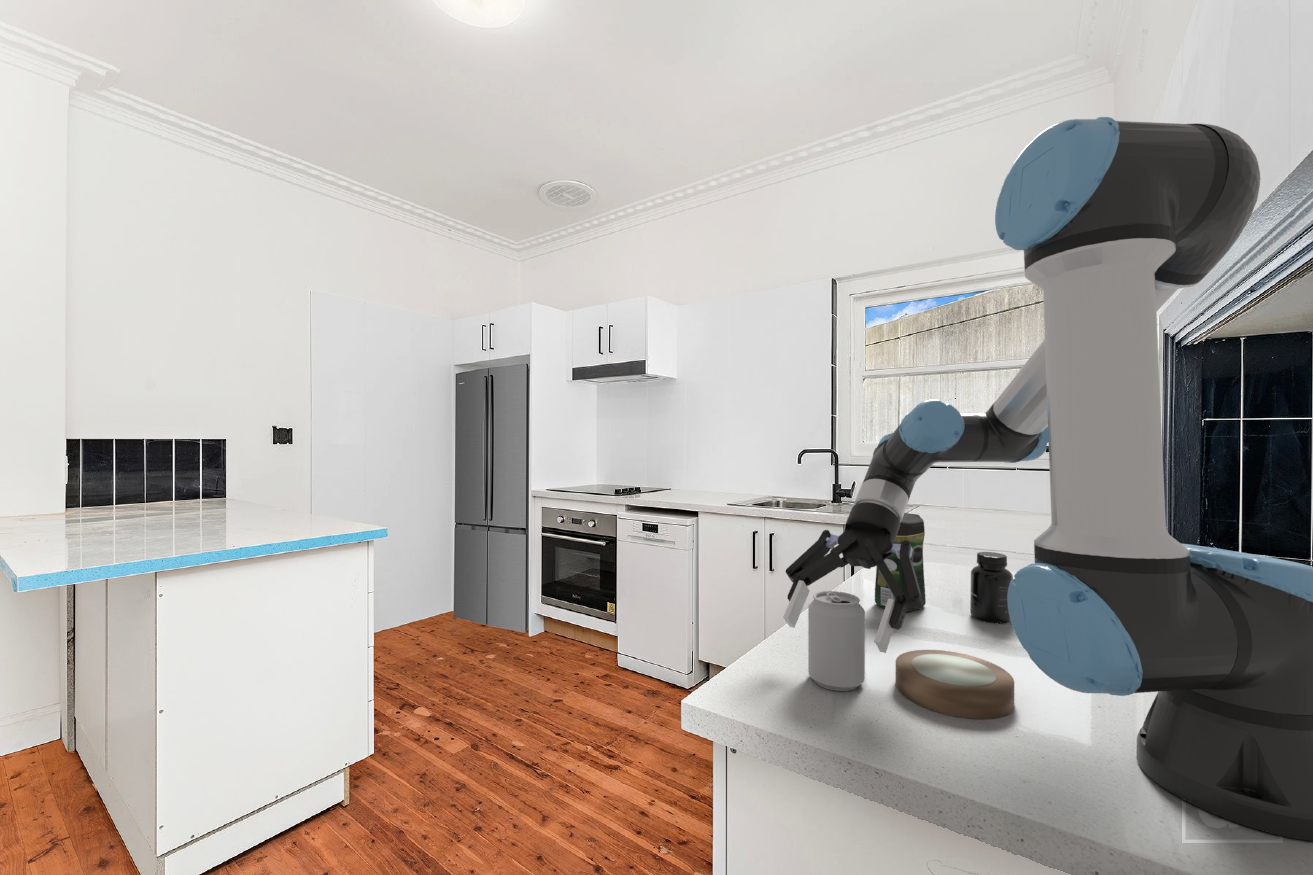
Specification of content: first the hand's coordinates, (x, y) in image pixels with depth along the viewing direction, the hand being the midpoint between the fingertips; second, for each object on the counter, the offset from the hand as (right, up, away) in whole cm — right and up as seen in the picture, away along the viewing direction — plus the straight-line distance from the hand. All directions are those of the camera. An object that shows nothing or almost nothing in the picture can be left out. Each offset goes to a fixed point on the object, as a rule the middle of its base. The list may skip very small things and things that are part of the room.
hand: (831, 634), depth 79 cm
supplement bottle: (+38, -6, +26) cm, 47 cm away
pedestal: (+15, -7, -3) cm, 17 cm away
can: (+1, -7, 0) cm, 7 cm away
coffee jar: (+24, -6, +34) cm, 42 cm away
